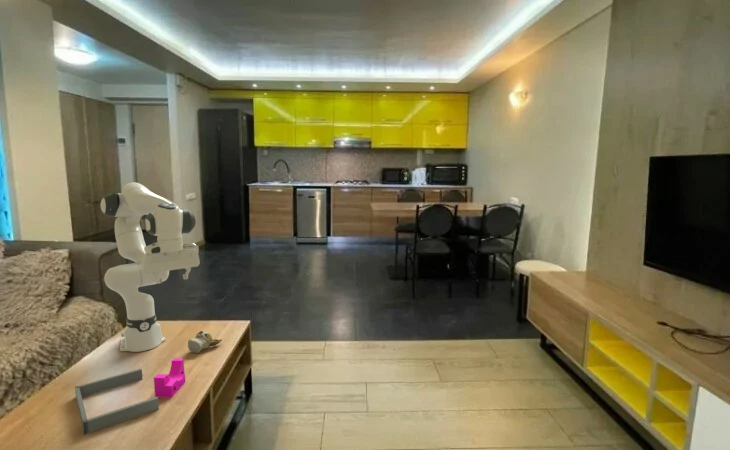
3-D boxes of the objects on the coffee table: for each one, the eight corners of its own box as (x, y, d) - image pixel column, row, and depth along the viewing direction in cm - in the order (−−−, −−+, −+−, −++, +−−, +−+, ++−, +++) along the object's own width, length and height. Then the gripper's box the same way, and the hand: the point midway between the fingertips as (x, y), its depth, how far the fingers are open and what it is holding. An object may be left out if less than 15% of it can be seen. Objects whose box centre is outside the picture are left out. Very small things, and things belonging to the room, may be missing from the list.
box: (75, 397, 146) (74, 386, 146) (141, 377, 160) (141, 368, 159) (84, 434, 126) (83, 422, 126) (158, 409, 140) (158, 398, 139)
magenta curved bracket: (172, 397, 147) (170, 378, 146) (155, 397, 147) (153, 377, 146) (190, 376, 162) (189, 358, 161) (175, 376, 162) (174, 358, 161)
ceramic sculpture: (180, 334, 180) (205, 324, 194) (180, 353, 181) (205, 341, 194) (198, 338, 176) (223, 327, 190) (198, 357, 177) (223, 345, 190)
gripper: (195, 241, 166) (197, 275, 167) (139, 248, 153) (142, 283, 155) (200, 243, 161) (202, 278, 163) (143, 250, 148) (146, 287, 150)
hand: (172, 281), depth 158 cm, fingers open, 8 cm apart
